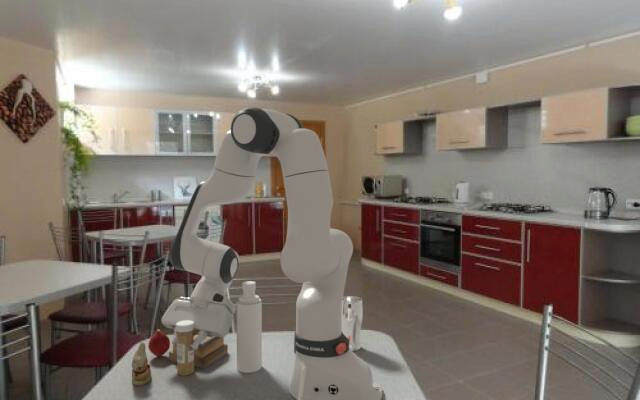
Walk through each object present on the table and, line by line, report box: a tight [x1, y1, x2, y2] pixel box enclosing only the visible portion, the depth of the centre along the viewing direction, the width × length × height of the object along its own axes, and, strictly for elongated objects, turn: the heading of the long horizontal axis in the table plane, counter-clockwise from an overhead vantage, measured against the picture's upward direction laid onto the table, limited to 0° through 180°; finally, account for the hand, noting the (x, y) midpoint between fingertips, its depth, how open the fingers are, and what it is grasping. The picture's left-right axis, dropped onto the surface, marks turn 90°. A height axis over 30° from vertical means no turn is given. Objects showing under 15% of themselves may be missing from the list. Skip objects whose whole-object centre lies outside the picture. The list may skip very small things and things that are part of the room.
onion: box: [147, 328, 171, 358], centre depth 127 cm, size 6×6×8 cm
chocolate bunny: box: [131, 341, 152, 387], centre depth 113 cm, size 6×8×10 cm
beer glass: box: [342, 295, 364, 352], centre depth 135 cm, size 7×7×15 cm
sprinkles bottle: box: [176, 320, 195, 376], centre depth 117 cm, size 5×5×13 cm
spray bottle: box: [236, 280, 263, 374], centre depth 120 cm, size 7×7×25 cm
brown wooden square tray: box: [168, 333, 229, 369], centre depth 128 cm, size 12×11×6 cm
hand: (183, 346), depth 117 cm, fingers closed on sprinkles bottle, 4 cm apart
